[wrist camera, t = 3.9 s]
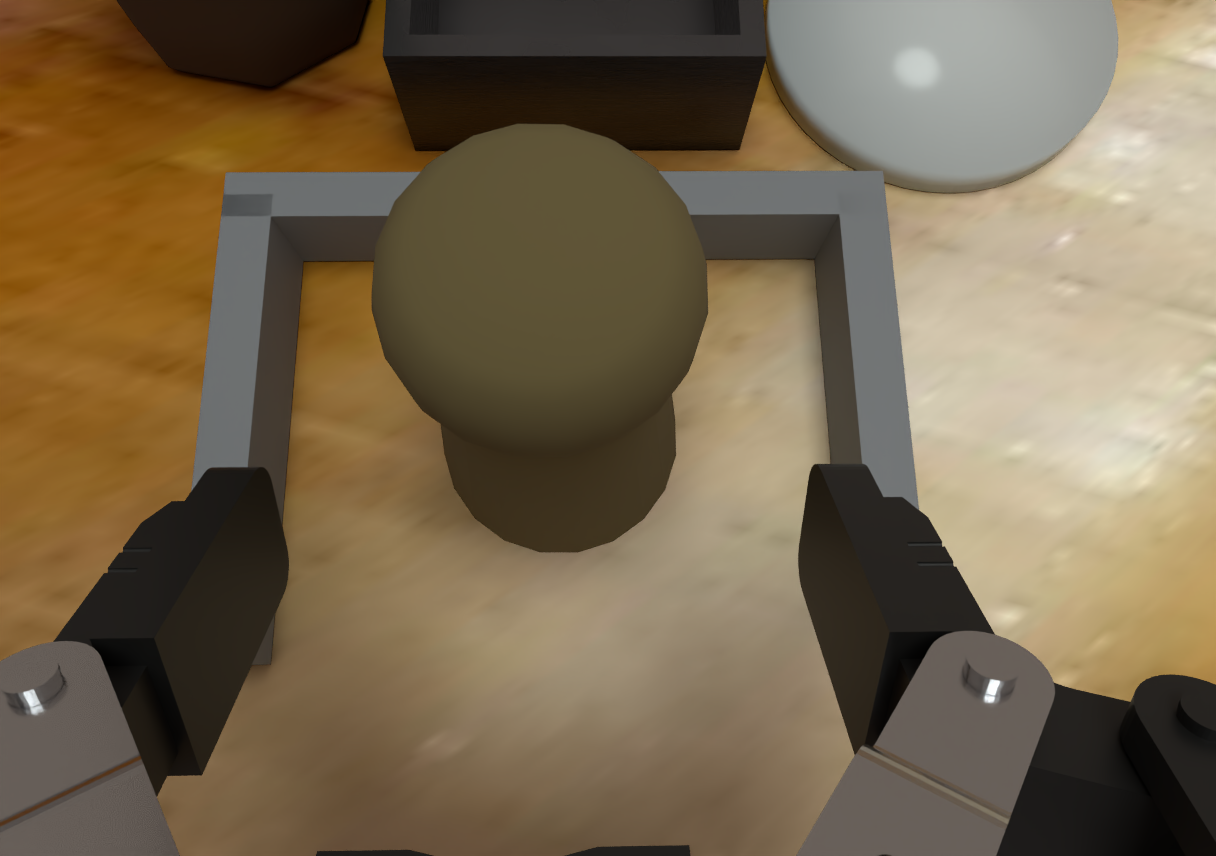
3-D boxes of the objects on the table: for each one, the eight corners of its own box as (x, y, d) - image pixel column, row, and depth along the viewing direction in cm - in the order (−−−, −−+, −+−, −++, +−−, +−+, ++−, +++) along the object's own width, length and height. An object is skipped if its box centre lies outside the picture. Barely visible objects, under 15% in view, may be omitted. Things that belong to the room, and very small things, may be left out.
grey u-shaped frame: (220, 664, 21) (172, 666, 19) (262, 221, 24) (225, 172, 22) (895, 654, 21) (934, 654, 19) (853, 219, 24) (882, 170, 22)
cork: (514, 291, 24) (453, -8, 13) (715, 389, 23) (823, 160, 12) (400, 486, 22) (226, 328, 12) (611, 595, 22) (632, 536, 11)
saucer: (773, 193, 25) (781, 174, 24) (753, -96, 27) (759, -124, 26) (1123, 192, 25) (1146, 173, 24) (1071, -95, 27) (1089, -122, 26)
